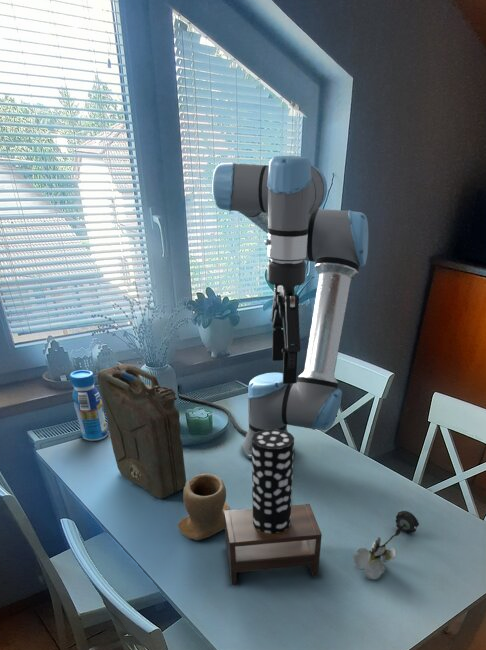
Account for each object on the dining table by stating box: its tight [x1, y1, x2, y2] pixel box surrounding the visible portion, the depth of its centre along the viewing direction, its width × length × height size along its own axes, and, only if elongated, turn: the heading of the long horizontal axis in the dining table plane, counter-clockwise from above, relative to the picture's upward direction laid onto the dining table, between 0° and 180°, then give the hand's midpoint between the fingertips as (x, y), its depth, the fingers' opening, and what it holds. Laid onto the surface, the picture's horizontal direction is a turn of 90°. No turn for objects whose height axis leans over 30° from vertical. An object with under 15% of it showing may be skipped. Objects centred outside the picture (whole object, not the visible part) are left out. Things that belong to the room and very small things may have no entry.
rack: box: [224, 503, 323, 585], centre depth 118 cm, size 12×20×12 cm, turn 100°
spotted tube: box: [251, 429, 295, 533], centre depth 107 cm, size 8×8×20 cm
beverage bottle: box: [69, 369, 109, 442], centre depth 161 cm, size 8×8×20 cm
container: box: [97, 363, 187, 499], centre depth 138 cm, size 22×10×30 cm, turn 47°
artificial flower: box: [352, 510, 420, 580], centre depth 123 cm, size 9×22×10 cm, turn 139°
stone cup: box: [177, 473, 231, 541], centre depth 127 cm, size 15×12×15 cm
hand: (283, 371), depth 114 cm, fingers open, 13 cm apart
